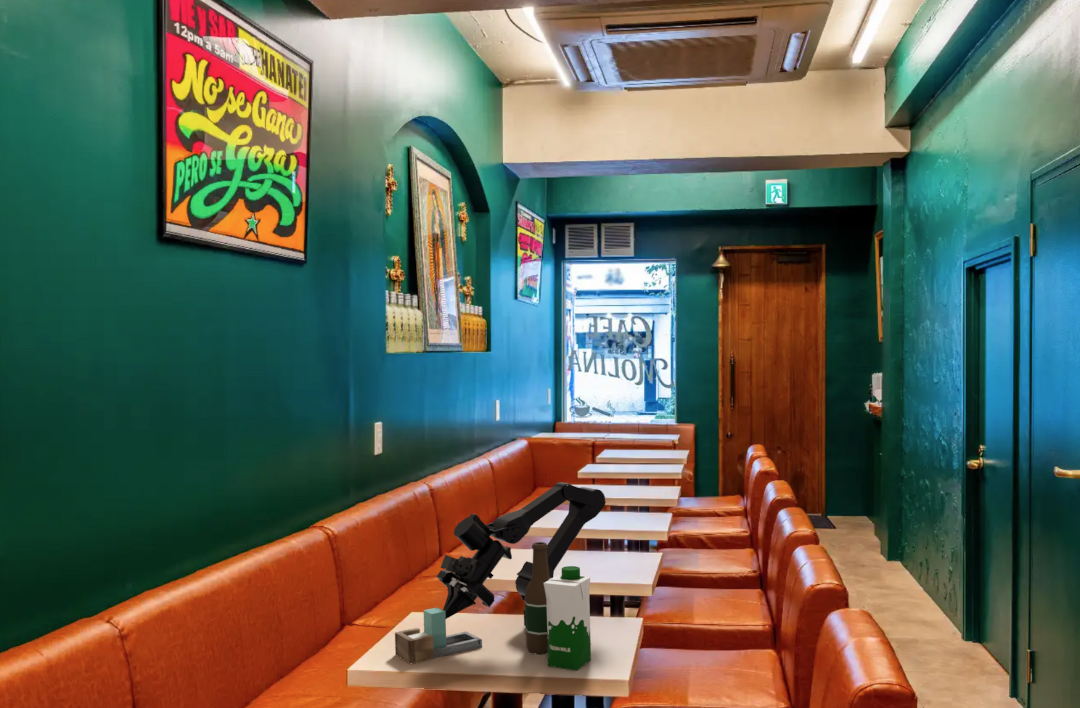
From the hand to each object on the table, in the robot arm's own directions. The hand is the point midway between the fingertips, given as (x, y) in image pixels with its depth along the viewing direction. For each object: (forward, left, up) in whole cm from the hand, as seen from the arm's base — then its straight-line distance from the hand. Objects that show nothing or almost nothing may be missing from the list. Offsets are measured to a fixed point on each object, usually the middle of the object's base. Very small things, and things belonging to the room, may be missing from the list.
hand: (442, 618), depth 200 cm
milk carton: (-30, +7, -7) cm, 31 cm away
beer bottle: (-23, -2, -7) cm, 24 cm away
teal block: (+3, +3, -7) cm, 8 cm away
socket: (+5, +5, -7) cm, 10 cm away
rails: (-2, -2, -7) cm, 8 cm away
